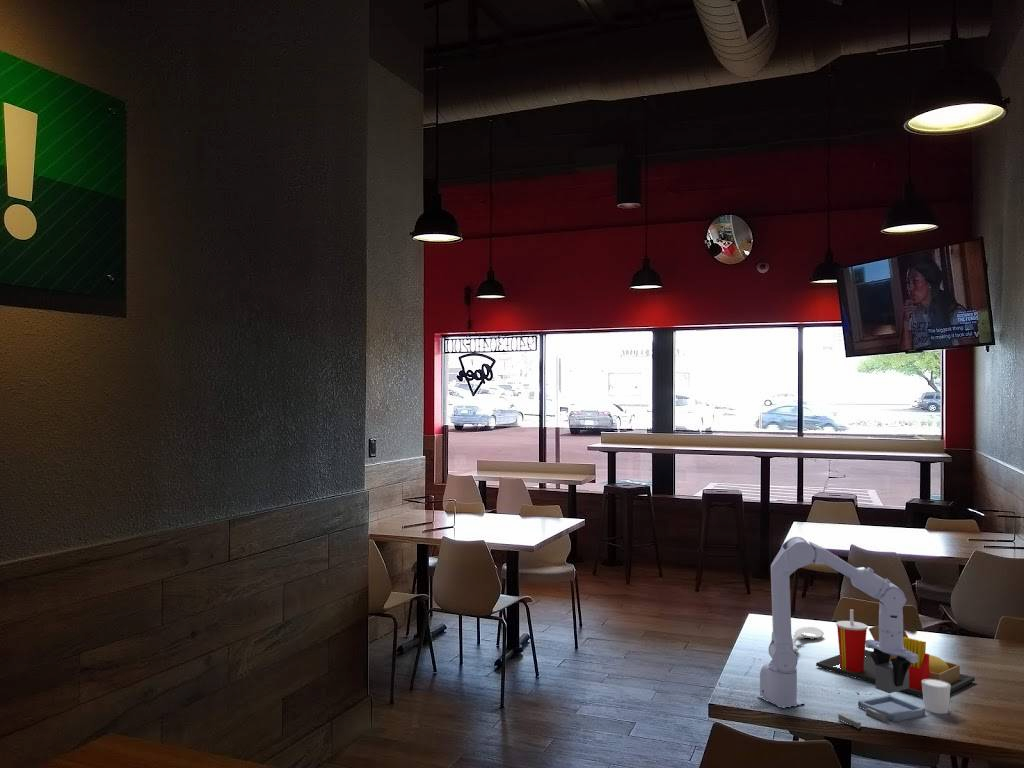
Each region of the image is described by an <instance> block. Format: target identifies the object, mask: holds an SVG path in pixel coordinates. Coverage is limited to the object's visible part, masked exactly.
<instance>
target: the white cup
mask: <svg viewBox="0 0 1024 768" xmlns="http://www.w3.org/2000/svg"><path fill="white" fill-rule="evenodd" d="M950 688H951V685H950V684H949V683H947V682H945V681H941V680H936V679H924V680H922V691H923V697H922V698H923V708H924V709H925V711H928V712H930V713H934V714H941V715H945V714H948V713H949V707H950V699H951V698H950V696H951V693H950Z"/></svg>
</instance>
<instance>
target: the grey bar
mask: <svg viewBox="0 0 1024 768" xmlns="http://www.w3.org/2000/svg"><path fill="white" fill-rule="evenodd" d="M875 671H876V684H875V689H877V690H879V691H882V692H885V693H888V694H893V693H896V692H901V691H900V690H904V689H908V688H909V668H908V670H907V672H906V675H905V678H904V682H903V685H902V686H895V681H894V670H893V665H892V662H888V663H883V664H879V665H875Z"/></svg>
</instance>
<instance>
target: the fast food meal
mask: <svg viewBox="0 0 1024 768" xmlns="http://www.w3.org/2000/svg"><path fill="white" fill-rule="evenodd" d="M835 624H836V625H835V626H836V627H837V628H836V629H837V637H838V650H839V651H838V652H839V654H838V655H834V656H831V657H829V658H826V659H822V660H820V661H818V662H815V663H816V664H815V665H816V667H817V666H818V667H817V668H820V667H821V669H823V668H824V669H823V670H826V669H828V670H827V671H829V670H831V671H830V672H833V671H835V672H834V673H836V672H838V673H837V674H840V673H841V674H840V675H844V674H845V675H844V676H847V675H848V677H851V676H852V677H851V678H854V677H856V678H855V679H858V678H859V679H858V680H861V679H862V681H865V680H866V681H865V682H868V681H869V682H868V683H872V682H873V683H872V684H875V683H876V671H875V663H874V660H873V659H872V657H871V655H870V652H873V651H872V650H868V649H866V640H867V629H868V630H869V632H870V635H871V637H872V638H873V639H872V640H874V641H879V624H878V625H875V626H873V627H868V625H867V624H866V623H862V622H860V621H859V622H858V621H854V609H849V620H838V621H837V622H835ZM903 646H904V648H905V649H906V650H908V651H910V652H912V653H914V654H917V655H918V662H917V663H912V664H911V665H910V667H909V688H908V689H904V690H900V691H899V692H903V693H907V694H910V695H911V694H912V695H915V696H917V697H921V698H923V691H922V680H924V679H936V680H941V681H945V682H947V683H949V684H950V685H951V688H950V694H951V693H952V692H953V693H954V692H955V691H958V690H959V689H960V688H963V687H965V686H967V685H969V684H972V683H973V682H975V681H976V677H974V676H971V675H967V674H962V673H960V671H961V665H960V664H957V663H953V662H948V661H944V660H943V659H941V658H940V657H938V656H935V655H932V654H930V653H926V649H927V647H926V646H927V642H926V641H922V640H919V639H915V638H910V637H909V636H908V634H907V632H906V630H905V628H904V627H903ZM865 656H866V657H865ZM894 658H897V657H896V656H893V655H890V659H889V662H891V659H894ZM839 664H840V668H841V669H840V668H837V667H833V666H836V665H839Z"/></svg>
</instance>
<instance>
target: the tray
mask: <svg viewBox="0 0 1024 768" xmlns="http://www.w3.org/2000/svg"><path fill="white" fill-rule="evenodd" d="M857 706H859V707H861V708H864V709H866V708H870V709H873V710H875V711H877V712H880V713H882V714H885V715H887V716H889V721H890V720H891V721H890V722H892V721H893V723H895V722H894V721H896V722H899V721H898V720H900V721H903V720H904V719H905V720H908V719H914V718H917V717H922V715H923V716H925V715H926V709H925V708H924V707H921V706H918V705H917V704H914V703H911V702H908V701H906V700H903V699H901V698H898V697H896V696H893V695H891V694H888V695H882V696H878V697H873V698H872V697H871V698H869V699H867V698H866V699H863V700H862V699H861V700H859V701H857ZM859 707H858V708H859ZM861 708H860V709H861ZM864 709H863V710H864ZM913 717H914V718H913ZM905 720H904V721H905Z"/></svg>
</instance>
